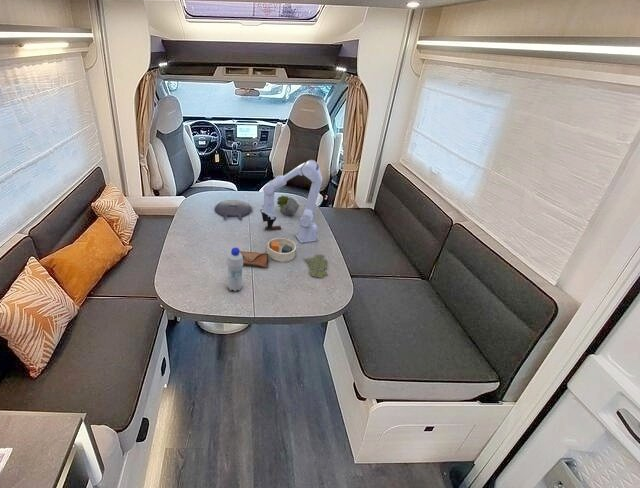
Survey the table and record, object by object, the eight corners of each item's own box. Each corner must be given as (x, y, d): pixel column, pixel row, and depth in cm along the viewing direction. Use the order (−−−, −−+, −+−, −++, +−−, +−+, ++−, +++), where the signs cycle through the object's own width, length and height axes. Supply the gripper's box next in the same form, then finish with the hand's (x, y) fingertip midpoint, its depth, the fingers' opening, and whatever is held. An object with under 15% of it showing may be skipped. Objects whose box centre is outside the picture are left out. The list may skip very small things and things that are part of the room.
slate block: (284, 251, 160) (284, 244, 158) (291, 253, 158) (292, 247, 156) (281, 255, 157) (281, 248, 155) (288, 257, 155) (289, 251, 153)
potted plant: (289, 216, 189) (269, 203, 195) (292, 221, 200) (273, 209, 206) (300, 200, 190) (280, 188, 196) (302, 205, 202) (283, 194, 208)
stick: (265, 230, 179) (280, 229, 180) (265, 226, 179) (280, 225, 180) (264, 229, 181) (280, 228, 182) (264, 226, 181) (279, 225, 182)
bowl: (288, 244, 167) (288, 236, 165) (299, 259, 154) (300, 251, 153) (263, 247, 163) (263, 239, 161) (273, 264, 151) (273, 255, 149)
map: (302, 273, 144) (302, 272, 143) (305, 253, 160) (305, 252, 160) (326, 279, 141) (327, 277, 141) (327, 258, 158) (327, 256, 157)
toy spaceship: (252, 222, 188) (252, 217, 187) (212, 220, 188) (212, 216, 187) (251, 201, 214) (251, 197, 213) (216, 200, 214) (216, 196, 213)
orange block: (271, 247, 163) (271, 241, 161) (278, 248, 162) (279, 242, 160) (270, 252, 159) (270, 245, 157) (278, 253, 158) (278, 246, 157)
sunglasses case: (230, 265, 148) (231, 250, 149) (231, 263, 155) (232, 250, 156) (268, 268, 147) (269, 253, 148) (267, 266, 154) (268, 252, 155)
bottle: (226, 282, 137) (226, 244, 130) (241, 282, 138) (242, 243, 130) (227, 293, 131) (227, 253, 123) (243, 292, 132) (244, 253, 124)
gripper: (257, 198, 179) (256, 219, 185) (266, 209, 167) (265, 231, 172) (269, 197, 181) (267, 217, 187) (278, 208, 169) (276, 230, 174)
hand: (267, 224), depth 179 cm, fingers open, 7 cm apart
